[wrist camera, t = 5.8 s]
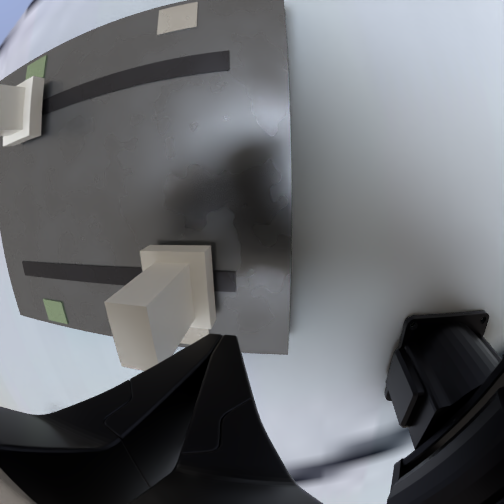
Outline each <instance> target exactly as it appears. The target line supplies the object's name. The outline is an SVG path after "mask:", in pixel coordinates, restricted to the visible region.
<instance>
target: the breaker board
mask: <svg viewBox="0 0 504 504" xmlns="http://www.w3.org/2000/svg"><path fill="white" fill-rule="evenodd" d="M32 76H36V77H41V78H45V80H44V89H43V102H42V121H41V136H38V137H35V138H33V139H30V140H27V141H25V142H22V143H20V144H17V145H15V146H5V147H3V136H0V231H1V237H2V243H3V248H4V254H5V258H6V263H7V267H8V272H9V276H10V280H11V284H12V287H13V291H14V295H15V298H16V301H17V305H18V308H19V311H20V314H21V315H23V316H26V317H30V318H34V319H37V320H41V321H45V322H49V323H53V324H57V325H61V326H65V327H70V328H74V329H79V330H83V331H88V332H93V333H98V334H103V335H108V336H113V335H112V331H111V327H110V323H109V320H108V316H107V311H106V307H105V303H104V302H105V301H106V300H107V299H108V298H110V297H111V296H112V295H113V294H115V293H116V292H117V291H119V290H120V289H121V288H122V287H124V286H125V285H126V284H127V283H129V282H130V281H131V280H133V279H134V278H135V277H136V276H138V275H139V274H140V273H142V272H143V271H142V264H141V257H140V251H141V250H142V249H144V248H145V247H147V246H149V245H210V246H211V254H212V269H213V283H214V296H215V308H216V320H215V322H214V325H213V327H212V329H201V328H189V329H188V331H187V333H186V334H185V336H184V337H183V339H182V341H181V342H180V344H179V345H178V346H179V347H188V346H189V345H191V344H193V343H194V342H196V341H198V340H199V339H201V338H203V337H204V336H206V335H208V334H210V333H212V334H222V335H236V336H237V338H238V342H239V346H240V350H241V352H243V353H260V354H283V355H288V341H289V318H290V288H291V235H292V175H291V124H290V95H289V72H288V53H287V37H286V23H285V9H284V0H187V1H183V2H178V3H174V4H170V5H166V6H162V7H158V8H154V9H151V10H147V11H144V12H141V13H137V14H134V15H131V16H128V17H125V18H122V19H119V20H117V21H114V22H111V23H108V24H106V25H103V26H101V27H98V28H96V29H93V30H91V31H89V32H86V33H84V34H82V35H80V36H78V37H75V38H73V39H71V40H69V41H67V42H65V43H63V44H61V45H59V46H57V47H55V48H53V49H51V50H50V51H48V52H46V53H44V54H42V55H40V56H39V57H37V58H35V59H34V60H32V61H30V62H29V63H27V64H25V65H24V66H22V67H21V68H19V69H17V70H16V71H14V72H13V73H11V74H10V75H8V76H7V77H5V78H4V79H3V80H1V81H0V84H1V85H10V86H17V85H19V84H20V83H22V82H24V81H25V80H27V79H29V78H31V77H32Z"/></svg>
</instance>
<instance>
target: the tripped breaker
mask: <svg viewBox="0 0 504 504" xmlns="http://www.w3.org/2000/svg"><path fill="white" fill-rule="evenodd" d="M140 257H141V264H142V271H143V272H142V273H140V274H139V275H138V276H136V277H135V278H134V279H133V280H131V281H130V282H129V283H127V284H126V285H125V286H124V287H122V288H121V289H120V290H119V291H117V292H116V293H115V294H113V295H112V296H111V297H110V298H108V299H107V300H106V301H105V302H104V303H105V307H106V311H107V316H108V320H109V323H110V327H111V331H112V335H113V338H114V342H115V346H116V349H117V352H118V356H119V359H120V362H121V365H122V366H123V367H127V368H132V369H137V370H142V371H146V370H147V369H149V368H151V367H153V366H155V365H156V364H158V363H160V362H162V361H163V360H165V359H167V358H169V357H170V356H172V355H173V354H174V352H175V350H176V349H177V347H178V345H179V344H180V342H181V341H182V339H183V337H184V336H185V334H186V333H187V331H188V329H189V328H201V329H212V327H213V325H214V322H215V320H216V308H215V296H214V283H213V269H212V254H211V246H210V245H149V246H147V247H145V248H144V249H142V250H141V251H140Z"/></svg>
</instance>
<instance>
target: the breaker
mask: <svg viewBox="0 0 504 504" xmlns="http://www.w3.org/2000/svg"><path fill="white" fill-rule="evenodd" d="M44 80H45V78H41V77H36V76H32V77H31V78H29V79H27V80H25V81H24V82H22V83H20V84H19V85H17V86H10V85H1V84H0V136H3V147H5V146H15V145H17V144H20V143H22V142H25V141H27V140H30V139H33V138H35V137H38V136H41V121H42V102H43V89H44Z"/></svg>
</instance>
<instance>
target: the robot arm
mask: <svg viewBox="0 0 504 504" xmlns="http://www.w3.org/2000/svg"><path fill="white" fill-rule="evenodd" d="M482 318H483V319H482ZM481 319H482V320H481ZM488 320H489V315H488V314H487V313H486V312H485V311H483V310H482V311H471V312H459V313H446V314H431V315H413V316H410V317H408V318H407V319H406V320H405V322H404V326H403V330H402V334H401V338H400V342H399V346H398V349H397V350H396V351H395V352H394V355H393V358H392V362H391V366H390V369H389V372H388V376H387V379H386V385H387V387H386V390H385V397H386V399H387V400H388V401H392V403H393V406H394V409H395V412H396V415H397V418H398V422H399V425H400V426H401V427H402V428H406V427H408V429H409V432H410V435H411V439H412V442H413V445H414V448H415V450H414V451H413V452H412V453H411V454H409V455H408V456H407V457H406V458H404V459H401V460H400V461H398V462H397V463H396V464H395V465H394V471H393V478H392V485H391V491H390V494H389V497H388V499H387V504H504V354H503V358H501V357H500V356H499V355H498V354H497V352H496V351H495V350H494V349H493V348H492V347H491V345H490V344H489V343H488V342H487V341H486V340H485V338H484V337H483V335H484V332H485V329H486V326H487V323H488ZM412 323H415V324H414V325H413V326H412V327H410V325H411V324H412ZM0 504H323V503H321V502H320V501H318V500H317V499H316V498H314V497H313V496H311V495H310V494H309V493H307V492H306V491H305V490H303V489H302V488H301V487H300V486H298V484H297V483H296V482H295V481H294V480H293V478H292V477H291V475H290V474H289V472H288V471H287V469H286V468H285V466H284V464H283V462H282V460H281V459H280V457H279V455H278V453H277V452H276V450H275V448H274V446H273V444H272V442H271V441H270V439H269V437H268V435H267V433H266V431H265V429H264V426H263V424H262V422H261V419H260V416H259V414H258V411H257V408H256V404H255V401H254V397H253V394H252V390H251V387H250V383H249V379H248V376H247V372H246V368H245V365H244V361H243V357H242V353H241V350H240V346H239V342H238V338H237V336H236V335H222V334H212V333H210V334H208V335H206V336H204V337H203V338H201V339H199V340H198V341H196V342H194V343H193V344H191V345H189V346H188V347H186V348H184V349H182V350H181V351H179V352H177V353H176V354H174V355H172V356H170V357H169V358H167V359H165V360H163V361H162V362H160V363H158V364H156V365H155V366H153V367H151V368H149V369H147V370H146V371H144V372H142V373H140V374H138V375H137V376H135V377H133V378H131V379H130V381H129V380H127V381H125V382H124V383H122V384H120V385H118V386H116V387H114V388H112V389H110V390H108V391H106V392H104V393H102V394H99V395H97V396H95V397H92V398H90V399H88V400H85V401H83V402H80V403H78V404H75V405H72V406H70V407H67V408H65V409H62V410H59V411H57V412H54V413H50V414H45V415H32V414H27V413H22V412H18V411H14V410H11V409H7V408H3V407H0Z"/></svg>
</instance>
